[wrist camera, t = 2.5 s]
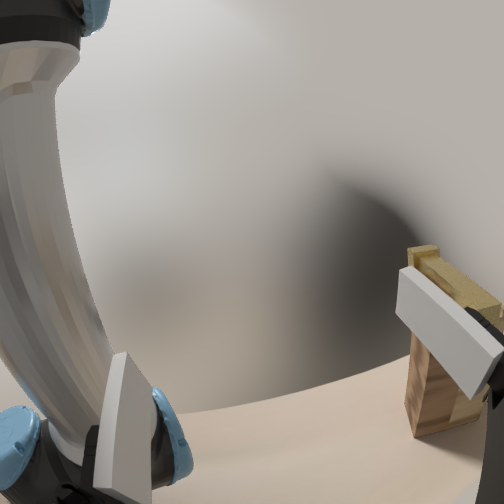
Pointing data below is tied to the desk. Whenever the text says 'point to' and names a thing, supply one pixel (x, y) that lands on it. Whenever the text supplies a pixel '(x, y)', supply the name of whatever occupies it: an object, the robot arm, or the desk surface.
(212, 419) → the desk surface
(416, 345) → the hinge block
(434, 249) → the golden wooden bar
